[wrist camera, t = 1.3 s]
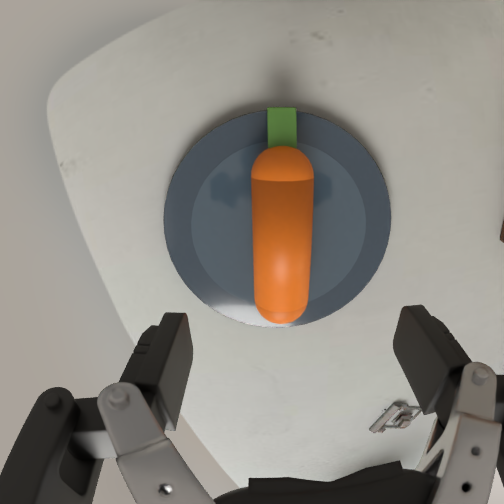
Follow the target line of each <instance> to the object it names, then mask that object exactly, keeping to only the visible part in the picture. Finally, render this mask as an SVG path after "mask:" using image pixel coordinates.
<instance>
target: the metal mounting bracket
mask: <svg viewBox="0 0 504 504" xmlns="http://www.w3.org/2000/svg"><path fill="white" fill-rule="evenodd" d="M405 409H420V411H419V412H418V413H417V414H416V415H415V416H414V417H413V416H411V415H412V413H399V415H398V416H397V417H396V418H395V419H394V420H393V421H392V422H394V423H395V422H396V423H395V424H394V423H393V425H398V426H383V425H384V424H385V423H386V422H387V421H388V420H389V419H390V418H391V417H392V416H393V415H394V414H395V413H396V412H397V411H398V410H399V411H404V410H405ZM385 410H386V409H385ZM421 411H422V409H421V407H408V405H406V404H400V403H393V404H392V405H391V406H390V407H389V408H388V409H387V410H386V412H385V413H384V414H383V415H382V418H381V417H380V418H379V419H378V420H377V421H376V422H375V423H374V424H373V425H372V426H371V427H370V428H369V430H370V431H371V432H373V433H375V432H377V431H378V432H384V431H385V430H386V429H385V428H405V427H407V426H409V425H410V423H411V422H412V421H413V420H414V418H415V417H416V416H417V415H418V414H419V413H420V412H421ZM382 412H383V411H382ZM412 417H413V418H412ZM411 418H412V419H411ZM410 419H411V420H410Z"/></svg>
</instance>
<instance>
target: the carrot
mask: <svg viewBox="0 0 504 504" xmlns="http://www.w3.org/2000/svg"><path fill="white" fill-rule="evenodd" d="M267 130H268V149H266V150H264V151H263V152H262V153H261V154H260V155H259V156H258V157H257V158H256V160H255V162H254V164H253V167H252V170H251V195H252V230H253V266H254V299H255V305H256V308H257V310H258V312H259V313H260V314H261V315H262V317H264V318H265V319H266V320H268V321H270V322H272V323H276V324H286V323H290V322H293V321H295V320H296V319H297V318H299V317H300V316H301V315H302V313H303V312H304V311H305V309H306V306H307V303H308V295H309V281H310V265H311V247H312V224H313V194H314V173H313V168H312V165H311V163H310V161H309V159H308V158H307V157H306V156H305V154H304V153H302V152H301V151H300V150H298V149H296V148H297V122H296V108H295V107H268V108H267Z"/></svg>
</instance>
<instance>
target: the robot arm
mask: <svg viewBox="0 0 504 504" xmlns="http://www.w3.org/2000/svg"><path fill="white" fill-rule="evenodd" d="M393 349H394V353H395V355H396V357H397V359H398V361H399V363H400V365H401V367H402V369H403V371H404V373H405V375H406V377H407V380H408V382H409V384H410V386H411V388H412V390H413V392H414V394H415V396H416V399H417V401H418V403H419V405H420V407H421V409H422V412H423V414H424V415H427V414H430V413H434V412H436V414H437V417H436V419H435V420H434V423H433V426H432V429H431V432H430V435H429V438H428V441H427V444H426V446H425V449H424V452H423V455H422V457H421V459H420V461H419V463H418V465H417V467H416V468H415V470H410V469H402V465H401V462H400V460H399V461H395V462H391V463H387V464H382V465H378V466H373V467H368V468H365V469H362V470H360V471H358V472H355V473H353V474H350V475H348V476H345V477H343V478H340V479H337V480H335V481H331V482H322V481H313V480H305V479H297V478H290V477H282V478H249V486H248V487H244V488H240V489H236V490H233V491H230V492H228V493H225V494H223V495H221V496H219V497H217V498H215V499H214V500H213V499H212V498H211V497H210V496H209V494H208V493H207V492H206V490H205V489H204V488H203V486H202V485H201V484H200V482H199V481H198V480H197V478H196V477H195V476H194V474H193V473H192V471H191V470H190V469H189V467H188V466H187V464H186V463H185V461H184V460H183V458H182V457H181V455H180V454H179V452H178V451H177V449H176V448H175V446H174V445H173V443H172V442H171V440H170V439H169V438H167V437H166V435H165V434H164V431H165V430H170V431H175V430H176V425H177V421H178V417H179V413H180V409H181V405H182V401H183V397H184V393H185V389H186V385H187V381H188V377H189V373H190V369H191V365H192V360H193V345H192V340H191V334H190V328H189V323H188V317H187V314H186V313H169V312H166V313H165V314H164V316H163V318H162V320H161V322H160V324H159V326H155V325H152V326H150V327H149V328H148V329H147V330H146V331H145V332H144V333H142V335H141V337H140V339H139V341H138V343H137V345H136V347H135V349H134V353H133V354H132V355H131V357H130V359H129V362H128V363H127V365H126V368H125V370H124V372H123V374H122V376H121V378H120V380H119V382H118V383H114V384H111V385H109V386H108V387H106V388H104V389H103V390H102V391H101V392H100V394H99V396H98V397H94V398H81V399H74V397H73V396H72V394H71V392H70V391H68V390H67V389H65V388H62V387H55V388H50V389H48V390H46V391H45V392H43V393H42V394H41V395H40V396H39V397H38V399H37V401H36V403H35V404H34V406H33V408H32V410H31V412H30V414H29V416H28V417H27V419H26V421H25V423H24V425H23V427H22V429H21V431H20V433H19V435H18V437H17V439H16V441H15V444H14V446H13V448H12V450H11V452H10V454H9V456H8V459H7V461H6V463H5V465H4V468H3V470H2V472H1V475H0V504H92V501H93V497H94V494H95V489H96V486H97V482H98V478H99V475H100V471H101V467H102V464H103V461H104V458H116V462H117V465H118V467H119V469H120V471H121V474H122V476H123V478H124V480H125V482H126V484H127V486H128V488H129V490H130V492H131V494H132V496H133V498H134V500H135V502H136V503H137V504H487V503H488V499H489V495H490V492H491V488H492V483H493V479H494V474H495V469H496V467H497V470H498V472H499V475H500V478H501V481H502V483H503V486H504V375H496V374H495V372H494V371H493V370H492V369H491V368H490V367H489V366H487V365H486V364H483V363H480V362H472V361H471V360H470V358H469V357H468V355H467V354H466V353H465V351H464V350H463V348H462V347H461V346H460V344H459V343H458V342H457V340H455V338H454V336H453V335H452V334H451V333H449V330H448V328H447V327H446V326H445V325H444V323H443V322H441V321H440V320H438V319H437V318H435V317H434V316H431V315H430V314H429V312H428V311H427V310H426V308H425V307H424V306H423V305H412V306H404V307H403V308H402V310H401V313H400V317H399V321H398V325H397V328H396V332H395V335H394V339H393Z"/></svg>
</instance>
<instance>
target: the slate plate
mask: <svg viewBox="0 0 504 504" xmlns="http://www.w3.org/2000/svg"><path fill="white" fill-rule="evenodd" d="M296 122H297V148H296V149H298V150H300V151H301V152H302V153H304V154H305V156H306V157H307V158H308V159H309V161H310V163H311V165H312V168H313V173H314V194H313V224H312V247H311V265H310V281H309V295H308V303H307V306H306V309H305V311H304V312H303V313H302V315H301V316H300V317H299V318H297V319H296V320H295V321H293V322H290V323H286V324H276V323H272V322H270V321H268V320H266V319H265V318H264V317H262V315H261V314H260V313H259V312H258V310H257V308H256V305H255V299H254V266H253V230H252V195H251V170H252V167H253V164H254V162H255V160H256V158H257V157H258V156H259V155H260V154H261V153H262V152H263V151H264V150H266V149H268V130H267V110H266V111H259V112H254V113H249V114H245V115H242V116H240V117H237V118H234V119H232V120H229V121H227V122H226V123H224V124H222V125H220V126H218V127H216V128H215V129H213V130H212V131H211V132H209V133H208V134H207V135H205V136H204V137H203V138H201V139H200V140H199V141H198V142H197V143H196V144H195V145H194V146H193V147H192V148H191V149H190V151H189V152H188V153H187V155H186V156H185V157H184V159H183V160H182V161H181V163H180V165H179V166H178V168H177V170H176V172H175V174H174V175H173V178H172V180H171V183H170V186H169V188H168V192H167V196H166V201H165V207H164V234H165V239H166V244H167V248H168V251H169V254H170V257H171V260H172V262H173V264H174V266H175V268H176V270H177V272H178V274H179V275H180V277H181V278H182V280H183V281H184V283H185V284H186V285H187V287H188V288H189V289H190V290H191V291H192V292H193V293H194V294H195V295H196V296H197V297H198V298H199V299H200V300H201V301H202V302H204V303H205V304H206V305H208V306H209V307H211V308H212V309H213V310H215V311H217V312H218V313H220V314H222V315H224V316H226V317H228V318H231V319H233V320H236V321H239V322H242V323H246V324H249V325H254V326H261V327H276V328H280V327H292V326H297V325H303V324H307V323H310V322H313V321H316V320H319V319H321V318H324V317H326V316H328V315H330V314H332V313H334V312H335V311H337V310H339V309H341V308H342V307H343V306H345V305H346V304H347V303H349V302H350V301H351V300H353V299H354V298H355V297H356V296H357V295H358V294H359V293H360V292H361V291H362V290H363V289H364V288H365V286H366V285H367V284H368V283H369V281H370V280H371V279H372V277H373V276H374V274H375V272H376V271H377V269H378V267H379V265H380V263H381V261H382V259H383V257H384V254H385V251H386V248H387V245H388V240H389V235H390V227H391V209H390V200H389V195H388V191H387V187H386V184H385V182H384V179H383V176H382V174H381V172H380V170H379V168H378V166H377V164H376V163H375V161H374V160H373V158H372V157H371V155H370V154H369V153H368V151H367V150H366V149H365V148H364V147H363V146H362V145H361V144H360V143H359V142H358V141H357V140H356V139H355V138H354V137H353V136H352V135H350V134H349V133H348V132H346V131H345V130H344V129H342V128H341V127H339V126H337V125H335V124H334V123H332V122H330V121H328V120H326V119H323V118H320V117H318V116H315V115H312V114H308V113H303V112H299V111H296Z"/></svg>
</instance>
